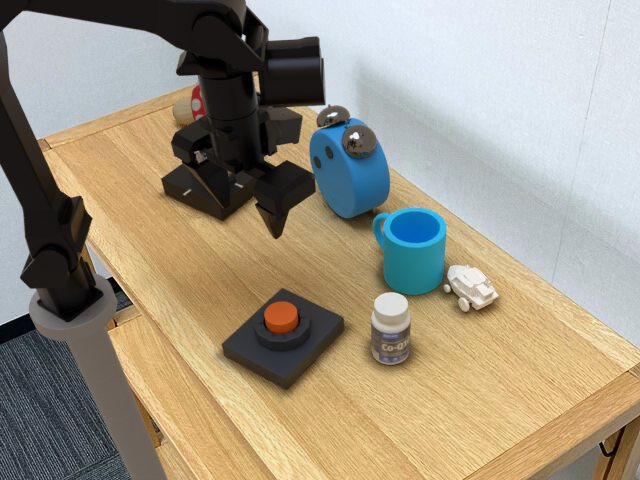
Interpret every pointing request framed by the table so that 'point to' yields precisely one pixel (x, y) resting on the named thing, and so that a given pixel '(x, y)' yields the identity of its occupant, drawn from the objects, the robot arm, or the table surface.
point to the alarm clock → (348, 163)
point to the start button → (281, 317)
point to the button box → (284, 340)
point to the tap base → (206, 192)
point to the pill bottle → (390, 328)
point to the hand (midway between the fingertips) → (251, 221)
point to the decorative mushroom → (189, 107)
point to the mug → (412, 249)
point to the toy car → (470, 287)
